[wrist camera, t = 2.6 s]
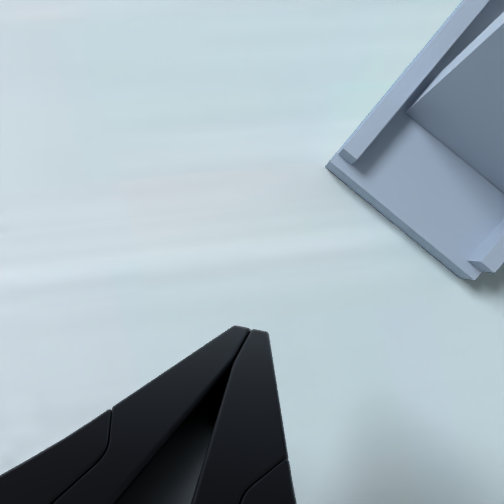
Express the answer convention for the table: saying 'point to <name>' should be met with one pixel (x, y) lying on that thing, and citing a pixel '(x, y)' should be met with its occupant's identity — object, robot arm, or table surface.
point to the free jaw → (470, 104)
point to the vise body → (428, 161)
